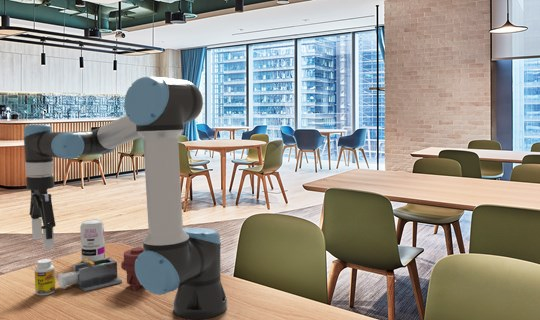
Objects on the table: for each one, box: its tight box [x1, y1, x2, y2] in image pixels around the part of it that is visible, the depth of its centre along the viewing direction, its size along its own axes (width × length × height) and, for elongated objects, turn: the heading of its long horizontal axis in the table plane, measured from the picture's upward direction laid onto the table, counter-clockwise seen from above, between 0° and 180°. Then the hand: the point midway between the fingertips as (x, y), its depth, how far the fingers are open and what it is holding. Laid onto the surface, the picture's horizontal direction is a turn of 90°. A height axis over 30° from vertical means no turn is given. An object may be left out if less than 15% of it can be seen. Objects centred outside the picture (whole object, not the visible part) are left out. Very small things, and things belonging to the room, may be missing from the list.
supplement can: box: [80, 219, 106, 263], centre depth 171 cm, size 8×8×15 cm
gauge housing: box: [73, 257, 123, 293], centre depth 151 cm, size 14×12×6 cm
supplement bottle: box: [34, 258, 56, 296], centre depth 141 cm, size 6×6×10 cm
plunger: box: [57, 258, 95, 290], centre depth 147 cm, size 7×11×6 cm, turn 130°
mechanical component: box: [120, 246, 144, 291], centre depth 146 cm, size 12×10×10 cm
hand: (43, 243), depth 140 cm, fingers open, 13 cm apart
